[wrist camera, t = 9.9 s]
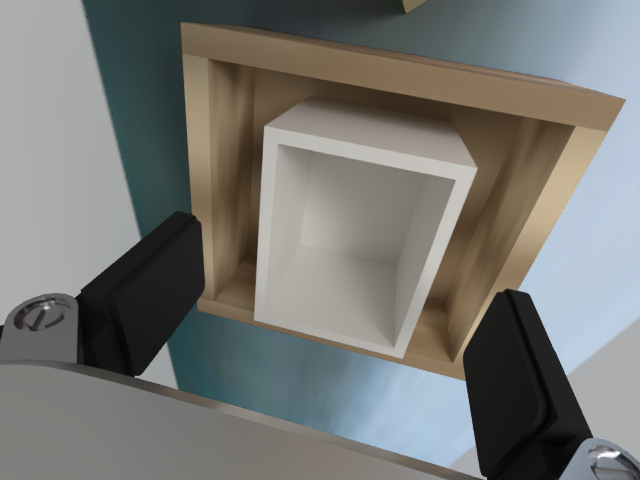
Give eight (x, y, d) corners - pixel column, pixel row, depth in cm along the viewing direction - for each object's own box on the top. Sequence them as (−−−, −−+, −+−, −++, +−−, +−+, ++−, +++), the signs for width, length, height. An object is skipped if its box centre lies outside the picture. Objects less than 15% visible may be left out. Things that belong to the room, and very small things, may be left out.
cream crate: (311, 95, 18) (264, 125, 12) (452, 121, 17) (477, 168, 11) (293, 244, 22) (254, 320, 16) (402, 270, 22) (402, 358, 16)
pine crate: (245, 26, 18) (180, 22, 12) (555, 79, 16) (626, 99, 11) (239, 254, 25) (197, 310, 20) (452, 306, 23) (465, 380, 18)
